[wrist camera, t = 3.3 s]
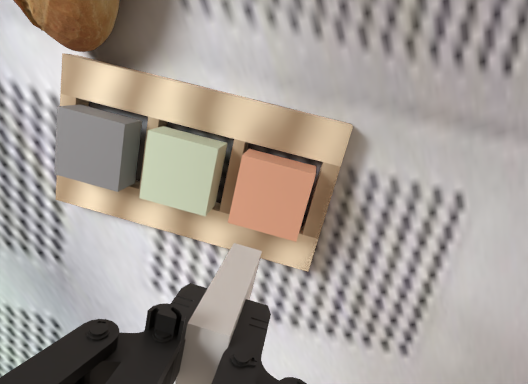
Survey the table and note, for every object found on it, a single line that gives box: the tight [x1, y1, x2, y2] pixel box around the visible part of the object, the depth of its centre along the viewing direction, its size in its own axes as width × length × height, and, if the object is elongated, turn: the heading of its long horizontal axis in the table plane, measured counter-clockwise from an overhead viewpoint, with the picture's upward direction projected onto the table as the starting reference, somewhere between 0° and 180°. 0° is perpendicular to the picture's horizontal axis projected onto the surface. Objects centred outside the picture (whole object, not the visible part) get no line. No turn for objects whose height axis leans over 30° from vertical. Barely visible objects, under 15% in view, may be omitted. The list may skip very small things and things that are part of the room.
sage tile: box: [139, 126, 228, 216], centre depth 31 cm, size 6×6×3 cm
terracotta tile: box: [228, 149, 316, 242], centre depth 30 cm, size 6×6×3 cm
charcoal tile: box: [54, 105, 142, 192], centre depth 32 cm, size 6×6×3 cm
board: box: [56, 53, 353, 271], centre depth 33 cm, size 26×14×2 cm, turn 77°
